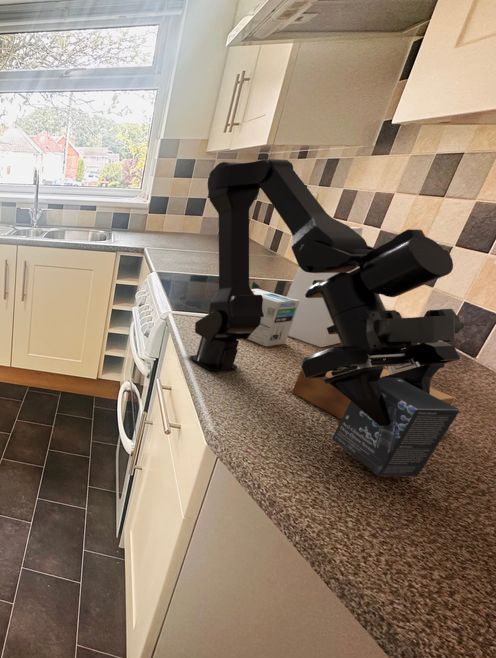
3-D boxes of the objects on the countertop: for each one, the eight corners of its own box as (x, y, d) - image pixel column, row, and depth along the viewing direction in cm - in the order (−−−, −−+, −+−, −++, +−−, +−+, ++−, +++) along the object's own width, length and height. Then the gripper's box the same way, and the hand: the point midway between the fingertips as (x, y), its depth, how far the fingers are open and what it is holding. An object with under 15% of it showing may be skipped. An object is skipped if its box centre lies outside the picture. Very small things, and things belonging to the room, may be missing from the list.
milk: (300, 324, 111) (338, 223, 100) (349, 340, 102) (397, 230, 91) (272, 330, 106) (309, 224, 95) (321, 347, 97) (368, 232, 86)
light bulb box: (285, 344, 98) (302, 300, 93) (266, 347, 95) (281, 302, 91) (244, 328, 107) (258, 287, 102) (225, 331, 104) (238, 289, 100)
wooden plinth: (291, 392, 76) (302, 365, 74) (349, 385, 79) (361, 359, 77) (373, 437, 64) (389, 406, 61) (438, 427, 67) (455, 397, 65)
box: (329, 439, 61) (361, 376, 56) (366, 440, 61) (401, 377, 56) (377, 477, 53) (417, 407, 49) (419, 478, 54) (463, 409, 49)
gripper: (359, 285, 49) (417, 416, 44) (480, 283, 52) (548, 405, 47) (281, 323, 59) (321, 433, 54) (387, 320, 63) (434, 423, 58)
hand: (404, 423), depth 53 cm, fingers closed on box, 6 cm apart
